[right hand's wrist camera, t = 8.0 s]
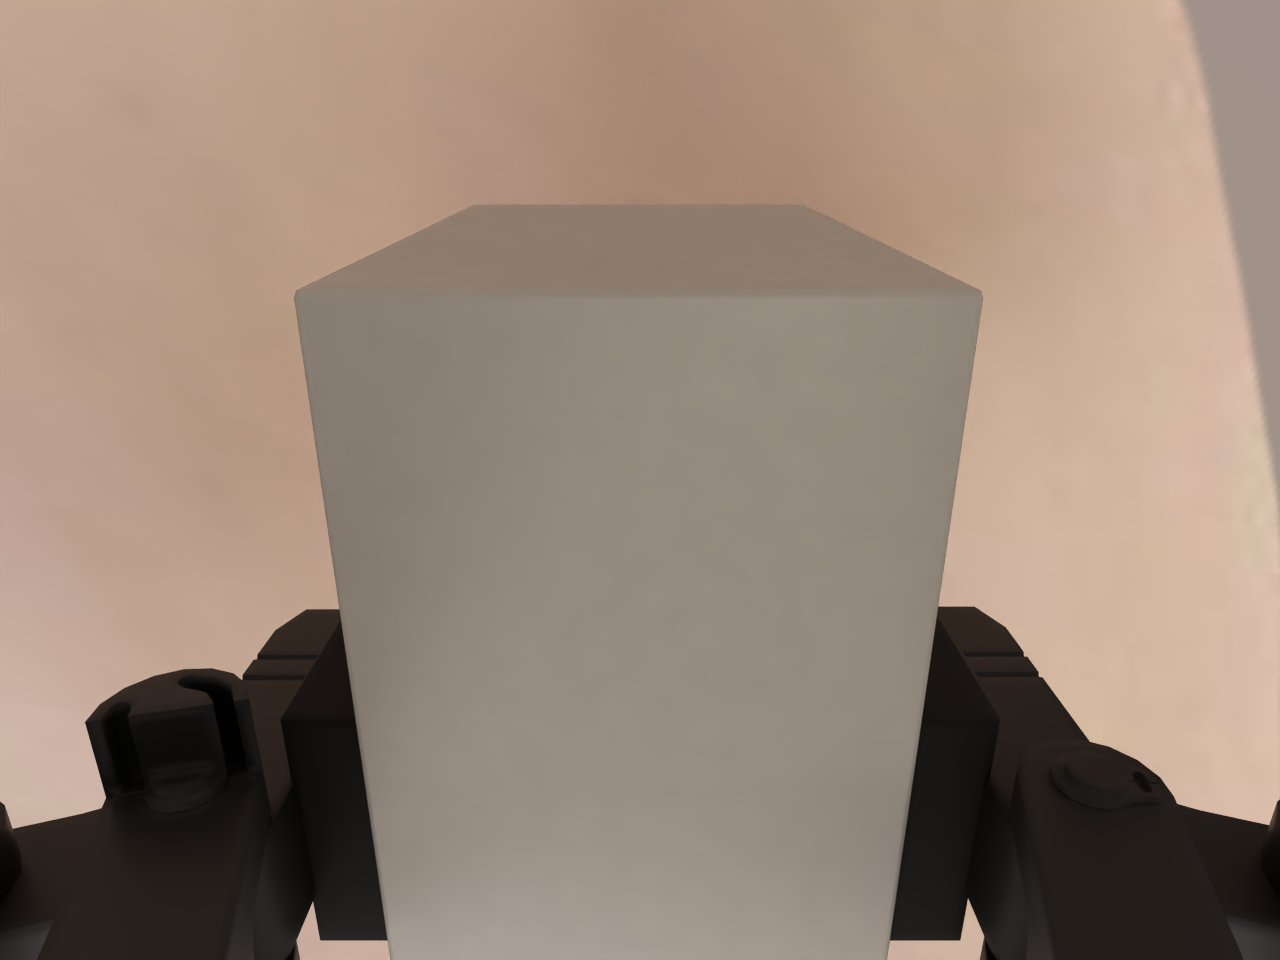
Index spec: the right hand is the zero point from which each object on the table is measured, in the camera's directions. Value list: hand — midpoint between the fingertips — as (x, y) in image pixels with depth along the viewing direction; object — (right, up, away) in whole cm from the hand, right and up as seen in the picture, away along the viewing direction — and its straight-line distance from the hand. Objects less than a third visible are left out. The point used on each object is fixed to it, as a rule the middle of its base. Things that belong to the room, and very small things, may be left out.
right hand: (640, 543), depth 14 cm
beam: (0, -33, +14) cm, 36 cm away
